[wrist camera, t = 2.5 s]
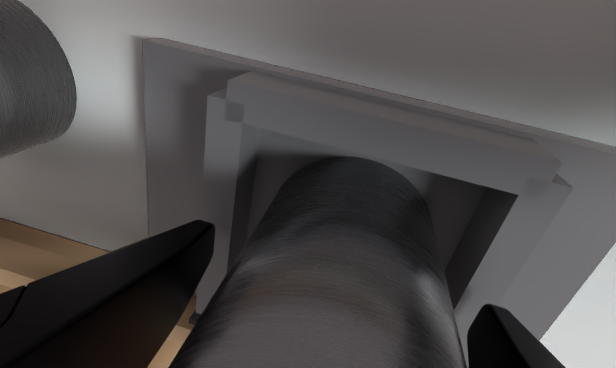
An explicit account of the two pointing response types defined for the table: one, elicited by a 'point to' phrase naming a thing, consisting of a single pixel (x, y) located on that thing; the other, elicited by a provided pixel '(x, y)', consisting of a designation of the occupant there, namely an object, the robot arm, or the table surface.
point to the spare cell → (31, 81)
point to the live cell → (333, 280)
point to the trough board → (56, 257)
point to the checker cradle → (389, 151)
